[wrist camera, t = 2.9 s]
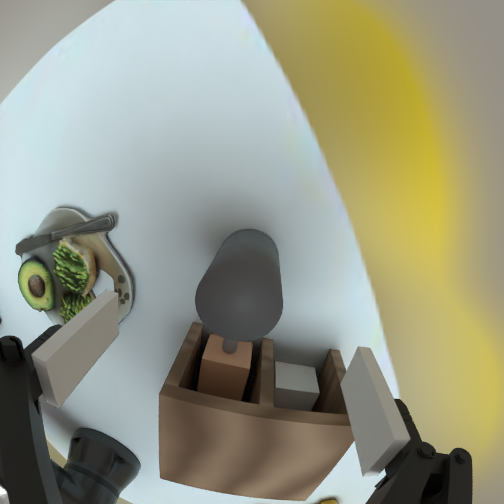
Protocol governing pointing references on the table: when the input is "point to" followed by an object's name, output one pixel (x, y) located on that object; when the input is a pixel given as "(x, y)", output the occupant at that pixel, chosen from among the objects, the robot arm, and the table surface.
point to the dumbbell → (329, 502)
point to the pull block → (237, 309)
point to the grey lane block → (295, 386)
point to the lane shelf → (250, 431)
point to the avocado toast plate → (70, 265)
